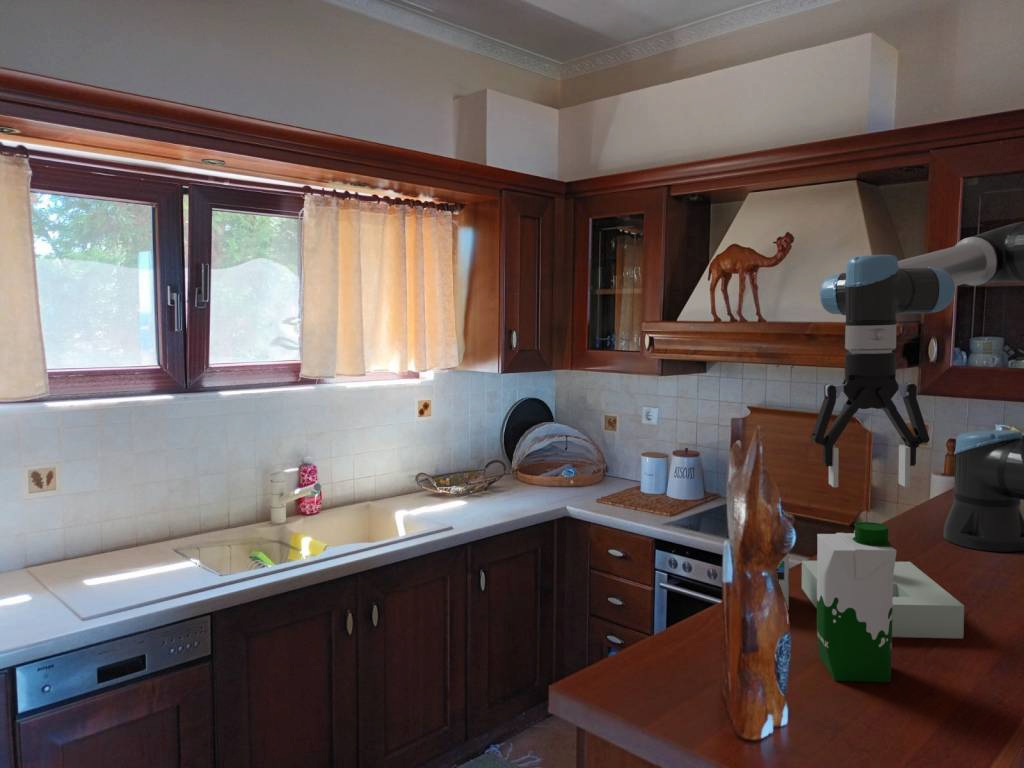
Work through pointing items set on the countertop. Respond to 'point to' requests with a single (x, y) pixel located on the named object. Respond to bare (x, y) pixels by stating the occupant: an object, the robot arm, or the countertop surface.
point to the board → (910, 603)
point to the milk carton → (856, 603)
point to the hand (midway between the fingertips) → (868, 485)
